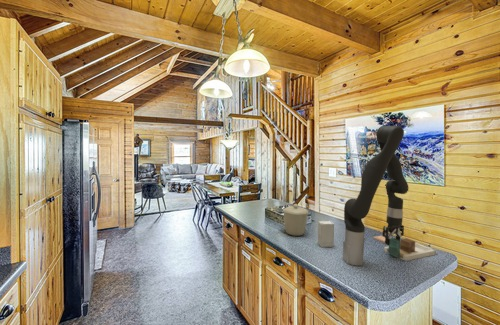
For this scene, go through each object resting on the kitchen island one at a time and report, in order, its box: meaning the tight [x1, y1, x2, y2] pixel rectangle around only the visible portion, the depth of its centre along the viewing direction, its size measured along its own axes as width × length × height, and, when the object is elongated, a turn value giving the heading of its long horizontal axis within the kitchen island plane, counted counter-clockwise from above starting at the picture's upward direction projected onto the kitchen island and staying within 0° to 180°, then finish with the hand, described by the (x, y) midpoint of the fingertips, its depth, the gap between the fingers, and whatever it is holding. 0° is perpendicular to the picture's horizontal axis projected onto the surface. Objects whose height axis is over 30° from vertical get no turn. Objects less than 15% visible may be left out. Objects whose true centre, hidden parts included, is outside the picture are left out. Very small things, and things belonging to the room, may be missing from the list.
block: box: [400, 237, 416, 253], centre depth 129 cm, size 5×5×6 cm
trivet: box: [373, 235, 385, 244], centre depth 148 cm, size 10×10×1 cm
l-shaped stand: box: [388, 237, 417, 258], centre depth 127 cm, size 16×9×9 cm, turn 110°
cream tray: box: [383, 242, 437, 262], centre depth 130 cm, size 26×13×2 cm, turn 110°
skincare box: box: [317, 220, 335, 248], centre depth 137 cm, size 8×6×15 cm
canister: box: [282, 203, 309, 237], centre depth 157 cm, size 18×18×21 cm
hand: (392, 243), depth 126 cm, fingers open, 8 cm apart
